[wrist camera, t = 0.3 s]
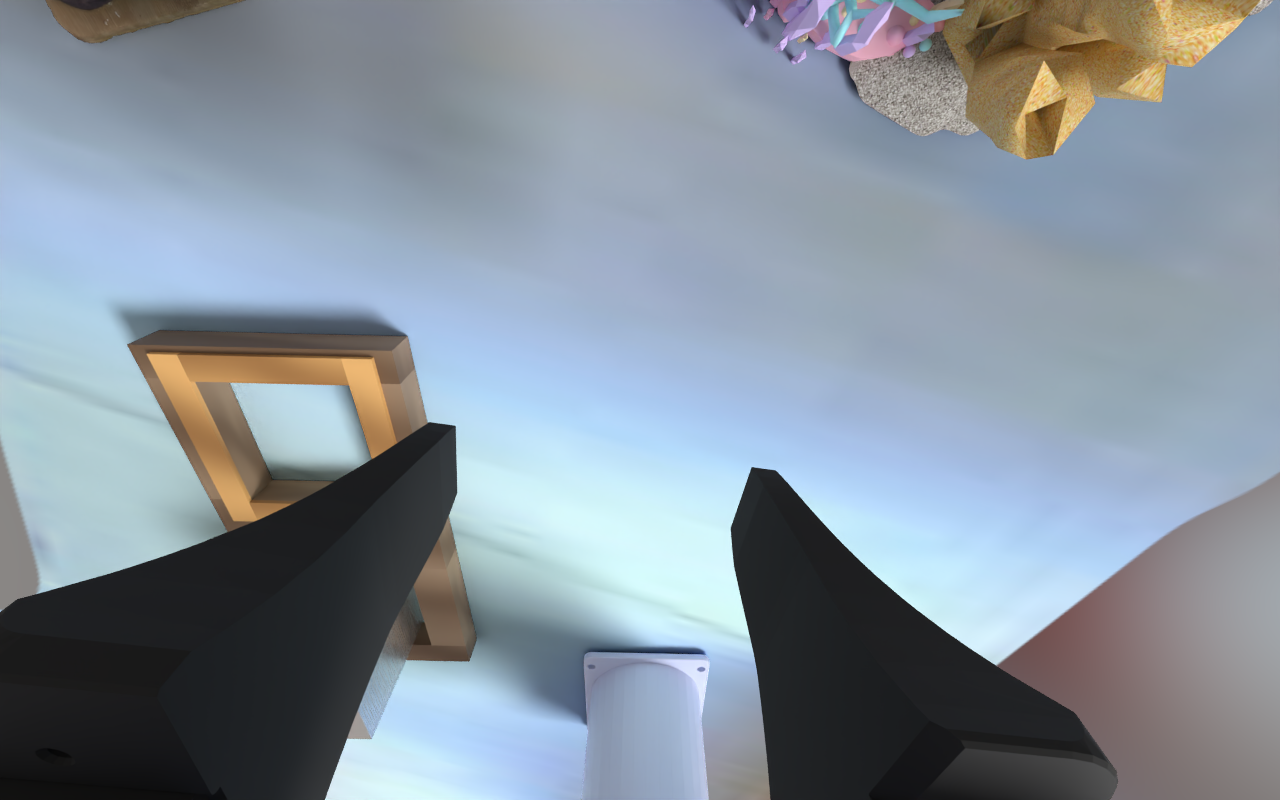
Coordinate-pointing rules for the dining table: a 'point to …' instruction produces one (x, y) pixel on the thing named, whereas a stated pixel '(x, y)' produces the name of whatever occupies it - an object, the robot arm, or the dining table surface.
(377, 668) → the light grey block
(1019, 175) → the dining table surface
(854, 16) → the candy landscape model
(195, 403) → the wooden board with holes
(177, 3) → the bread roll
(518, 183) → the dining table surface
